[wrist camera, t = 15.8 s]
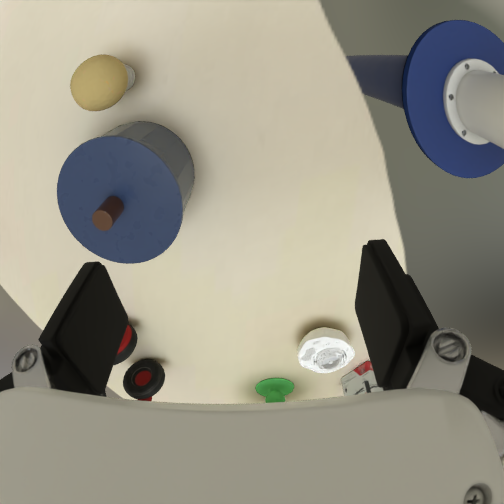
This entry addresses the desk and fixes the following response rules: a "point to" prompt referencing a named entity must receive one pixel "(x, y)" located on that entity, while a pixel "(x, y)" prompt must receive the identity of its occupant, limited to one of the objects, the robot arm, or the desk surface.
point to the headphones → (139, 370)
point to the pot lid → (120, 199)
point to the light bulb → (101, 82)
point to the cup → (274, 389)
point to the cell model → (325, 350)
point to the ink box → (360, 381)
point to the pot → (163, 150)
